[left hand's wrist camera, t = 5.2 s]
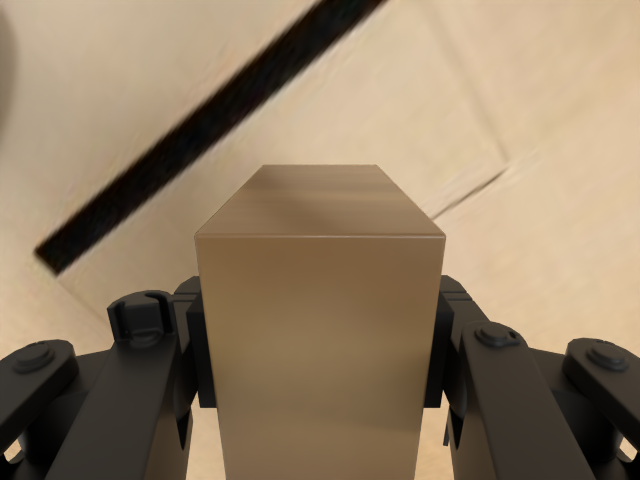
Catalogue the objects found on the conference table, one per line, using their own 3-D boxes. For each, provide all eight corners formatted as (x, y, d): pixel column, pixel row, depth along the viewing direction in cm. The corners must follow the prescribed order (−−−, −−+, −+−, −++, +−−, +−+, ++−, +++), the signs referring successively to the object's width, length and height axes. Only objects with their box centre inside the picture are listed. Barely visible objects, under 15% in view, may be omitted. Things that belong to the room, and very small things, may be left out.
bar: (262, 164, 14) (192, 234, 6) (377, 164, 14) (448, 234, 6) (283, 537, 21) (263, 769, 14) (356, 537, 21) (376, 769, 14)
